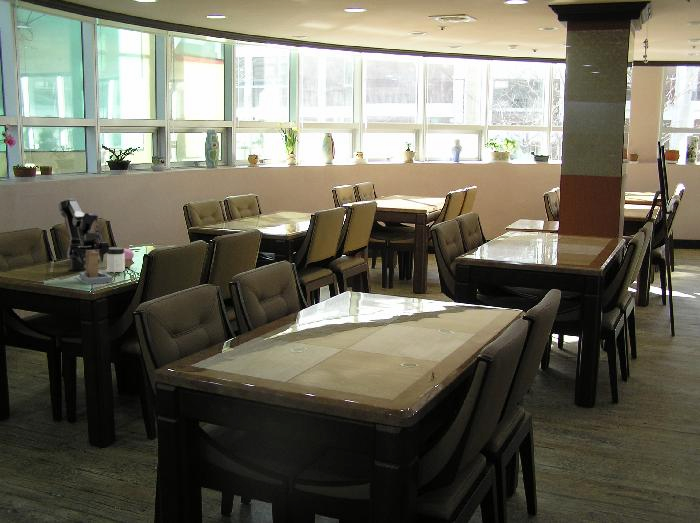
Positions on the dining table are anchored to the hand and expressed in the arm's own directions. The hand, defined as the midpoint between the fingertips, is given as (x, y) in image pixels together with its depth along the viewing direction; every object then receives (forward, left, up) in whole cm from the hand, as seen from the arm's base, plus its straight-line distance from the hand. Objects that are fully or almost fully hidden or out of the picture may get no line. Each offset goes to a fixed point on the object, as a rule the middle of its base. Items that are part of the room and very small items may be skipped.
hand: (92, 262), depth 376 cm
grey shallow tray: (+2, -1, -8) cm, 8 cm away
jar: (-7, +21, -8) cm, 24 cm away
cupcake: (-12, +32, -8) cm, 35 cm away
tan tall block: (-1, +1, -7) cm, 8 cm away
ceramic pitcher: (-46, +35, -8) cm, 58 cm away
